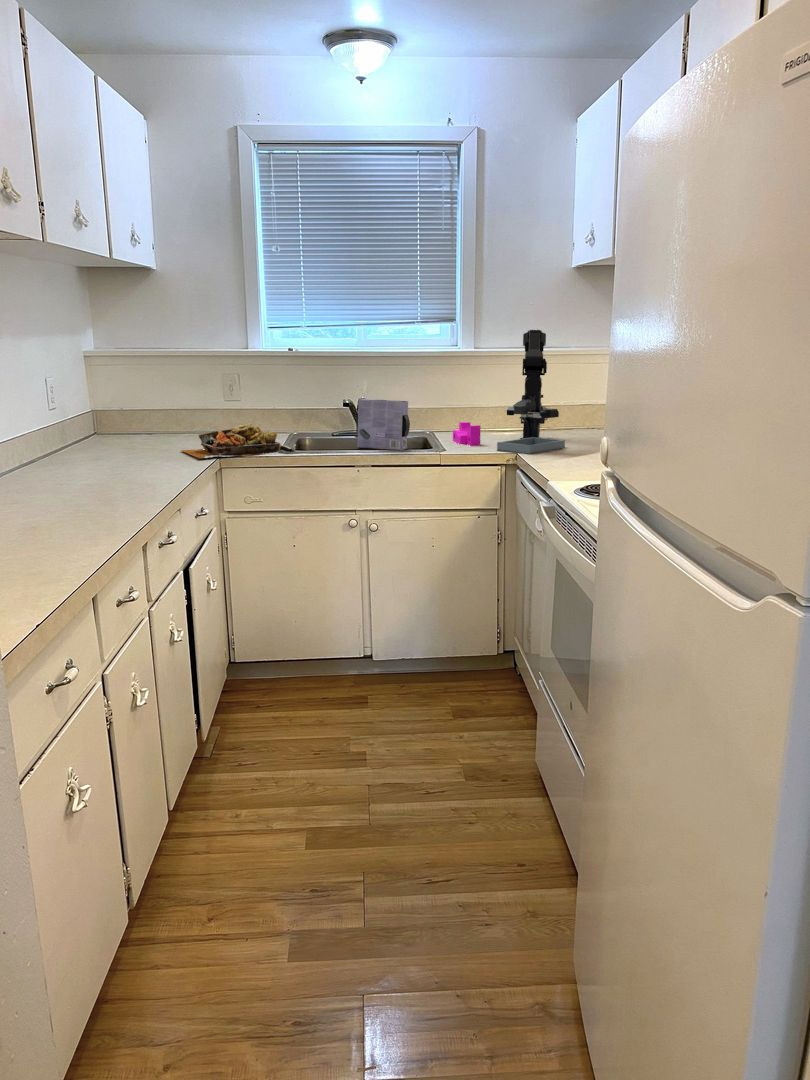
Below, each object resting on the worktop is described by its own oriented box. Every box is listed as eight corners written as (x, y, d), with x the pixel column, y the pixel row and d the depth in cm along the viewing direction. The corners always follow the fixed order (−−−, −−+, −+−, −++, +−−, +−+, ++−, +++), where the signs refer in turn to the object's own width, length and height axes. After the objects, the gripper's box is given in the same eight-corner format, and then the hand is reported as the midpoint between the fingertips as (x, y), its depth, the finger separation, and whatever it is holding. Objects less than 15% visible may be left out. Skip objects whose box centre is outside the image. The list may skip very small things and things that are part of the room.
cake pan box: (410, 449, 288) (410, 399, 283) (404, 450, 283) (404, 400, 279) (363, 446, 296) (362, 398, 291) (356, 448, 291) (355, 399, 287)
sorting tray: (532, 445, 296) (532, 437, 295) (564, 448, 286) (564, 440, 286) (497, 450, 282) (497, 442, 281) (529, 454, 272) (529, 445, 271)
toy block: (452, 441, 310) (452, 422, 308) (468, 441, 311) (468, 421, 310) (464, 446, 296) (464, 426, 294) (480, 446, 297) (480, 425, 295)
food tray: (199, 461, 266) (196, 428, 263) (180, 452, 288) (177, 422, 285) (297, 453, 282) (296, 423, 280) (272, 446, 304) (271, 417, 302)
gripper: (497, 392, 280) (496, 436, 284) (541, 394, 267) (539, 440, 271) (516, 390, 288) (515, 434, 291) (560, 392, 275) (558, 438, 279)
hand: (531, 436), depth 283 cm, fingers closed
